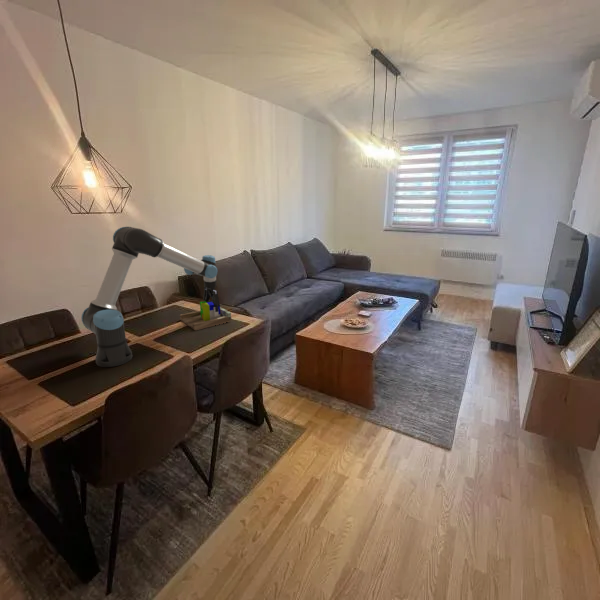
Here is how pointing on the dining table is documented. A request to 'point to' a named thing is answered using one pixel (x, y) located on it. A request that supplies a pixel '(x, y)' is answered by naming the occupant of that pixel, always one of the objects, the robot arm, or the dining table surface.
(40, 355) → the dining table surface
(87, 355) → the dining table surface
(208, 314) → the puzzle toy
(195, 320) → the board
